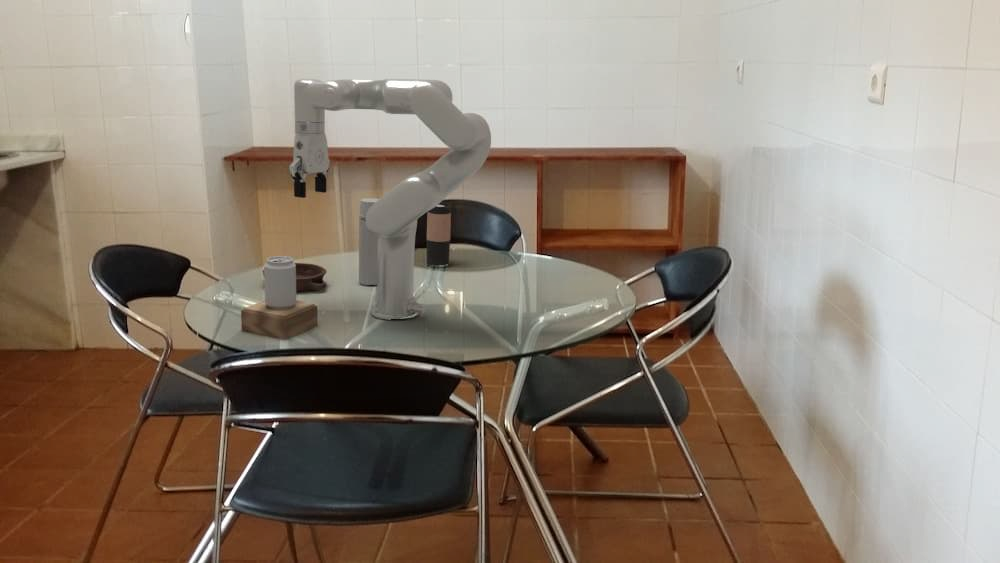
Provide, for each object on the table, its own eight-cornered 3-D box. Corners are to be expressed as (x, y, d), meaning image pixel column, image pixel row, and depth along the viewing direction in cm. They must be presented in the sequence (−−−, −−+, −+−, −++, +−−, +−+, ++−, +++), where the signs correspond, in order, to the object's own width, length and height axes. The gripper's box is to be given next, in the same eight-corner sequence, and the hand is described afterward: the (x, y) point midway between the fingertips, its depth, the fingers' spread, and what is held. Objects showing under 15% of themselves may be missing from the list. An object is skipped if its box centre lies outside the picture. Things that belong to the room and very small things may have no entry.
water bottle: (371, 288, 252) (371, 203, 246) (352, 283, 257) (352, 199, 250) (393, 282, 259) (394, 200, 253) (374, 277, 264) (375, 196, 257)
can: (258, 306, 211) (257, 258, 208) (279, 299, 218) (278, 253, 215) (282, 312, 208) (281, 263, 205) (302, 304, 215) (302, 257, 212)
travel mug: (423, 262, 285) (425, 202, 280) (446, 261, 287) (448, 202, 282) (428, 268, 278) (430, 206, 273) (451, 267, 280) (454, 206, 275)
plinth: (317, 324, 218) (317, 303, 216) (285, 339, 206) (285, 317, 205) (275, 316, 223) (274, 295, 221) (241, 330, 211) (241, 308, 210)
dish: (285, 274, 264) (284, 258, 262) (344, 286, 254) (344, 269, 253) (244, 286, 248) (244, 270, 247) (306, 299, 239) (305, 282, 238)
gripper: (303, 132, 213) (304, 200, 218) (340, 127, 229) (340, 191, 234) (277, 129, 216) (279, 197, 220) (315, 125, 232) (316, 188, 236)
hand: (310, 194), depth 227 cm, fingers open, 9 cm apart
